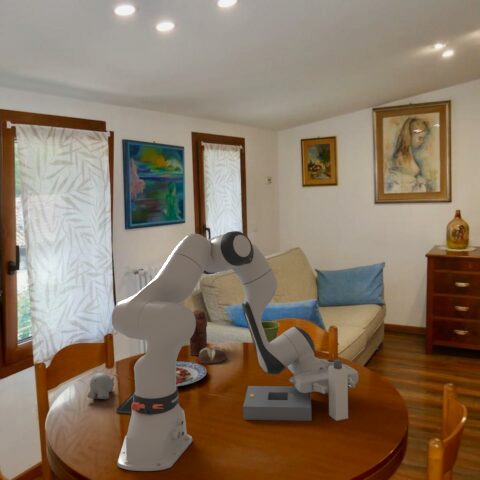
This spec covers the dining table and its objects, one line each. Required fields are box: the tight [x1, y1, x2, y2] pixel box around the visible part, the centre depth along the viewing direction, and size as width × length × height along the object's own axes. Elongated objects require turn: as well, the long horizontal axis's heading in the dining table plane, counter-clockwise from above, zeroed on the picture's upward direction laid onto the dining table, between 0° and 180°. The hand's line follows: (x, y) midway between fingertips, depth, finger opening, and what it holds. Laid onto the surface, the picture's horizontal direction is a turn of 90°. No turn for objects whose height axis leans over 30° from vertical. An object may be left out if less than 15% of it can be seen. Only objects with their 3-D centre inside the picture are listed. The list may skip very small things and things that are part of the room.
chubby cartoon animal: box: [87, 372, 115, 400], centre depth 170 cm, size 7×12×8 cm, turn 165°
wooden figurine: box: [189, 309, 208, 356], centre depth 215 cm, size 12×6×18 cm, turn 170°
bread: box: [198, 346, 227, 365], centre depth 205 cm, size 11×11×5 cm
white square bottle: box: [328, 359, 349, 421], centre depth 148 cm, size 4×4×17 cm
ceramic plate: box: [176, 361, 207, 388], centre depth 185 cm, size 26×26×3 cm
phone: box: [115, 392, 134, 415], centre depth 163 cm, size 8×1×15 cm
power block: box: [242, 385, 313, 422], centre depth 156 cm, size 16×20×4 cm
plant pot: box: [261, 320, 281, 343], centre depth 214 cm, size 12×12×11 cm
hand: (339, 388), depth 147 cm, fingers open, 8 cm apart
